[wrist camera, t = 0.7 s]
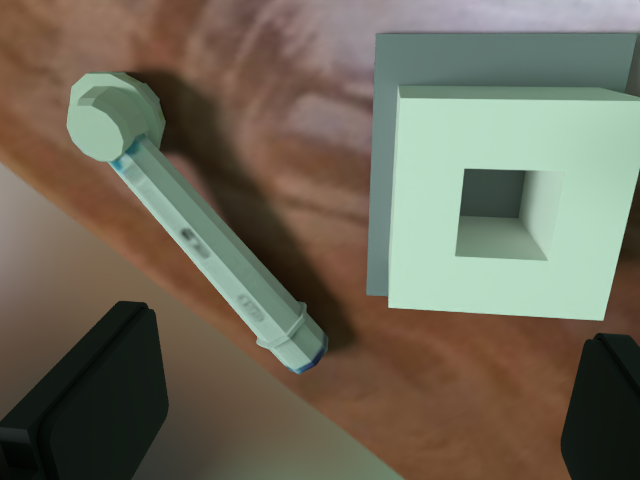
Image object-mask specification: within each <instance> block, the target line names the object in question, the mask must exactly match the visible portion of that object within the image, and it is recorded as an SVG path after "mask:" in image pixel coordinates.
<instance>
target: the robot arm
mask: <svg viewBox="0 0 640 480" xmlns="http://www.w3.org/2000/svg"><path fill="white" fill-rule="evenodd" d="M168 406H169V403H168V396H167V389H166V382H165V375H164V369H163V361H162V355H161V349H160V341H159V334H158V328H157V321H156V315H155V312H154V310H152V309H149V308H148V306H147V304H146V303H144V302H131V301H119V302H117V303H116V304H115V306H113V307H112V308H111V309H110V310H109V311H108V312H107V313H106V314H105V315H104V316H103V317H102V318H101V320H100V321H98V322H97V323H96V325H95V326H94V327H93V328H92V329H91V330H90V331H89V332H88V333H87V334H86V335H85V336H84V337H83V338H82V339H81V340H80V341H79V342H78V343H77V344H76V345H75V346H74V347H73V348H72V349H71V350H70V351H69V352H68V353H67V354H66V355H65V356H64V357H63V358H62V359H61V360H60V361H59V362H58V363H57V364H56V365H55V366H54V367H53V368H52V369H51V371H50V372H48V373H47V374H46V376H44V378H43V379H42V380H41V381H40V382H39V383H38V384H37V385H36V386H35V387H34V388H33V389H32V390H31V391H30V392H29V393H28V394H27V395H26V396H25V397H24V398H23V399H22V400H21V401H20V402H19V403H18V404H17V405H16V406H15V407H14V408H13V409H12V410H11V411H10V412H9V413H8V414H7V415H6V416H5V417H4V418H3V419H2V420H1V421H0V480H131V479H132V477H133V475H134V474H135V472H136V470H137V468H138V466H139V465H140V463H141V461H142V459H143V458H144V456H145V454H146V452H147V451H148V449H149V447H150V445H151V444H152V442H153V440H154V438H155V437H156V435H157V433H158V431H159V430H160V428H161V426H162V424H163V423H164V421H165V419H166V416H167V413H168ZM561 452H562V456H563V459H564V462H565V464H566V467H567V469H568V472H569V474H570V477H571V479H572V480H640V347H639V346H638V345H637V344H636V342H635V341H634V340H633V338H632V337H630V336H629V335H622V334H607V333H598V334H596V335H595V337H594V339H593V340H592V339H588V340H586V342H585V344H584V347H583V351H582V355H581V359H580V363H579V367H578V371H577V375H576V379H575V383H574V387H573V391H572V396H571V400H570V404H569V408H568V412H567V416H566V420H565V424H564V428H563V432H562V436H561Z"/></svg>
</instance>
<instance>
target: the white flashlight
mask: <svg viewBox="0 0 640 480" xmlns="http://www.w3.org/2000/svg"><path fill="white" fill-rule="evenodd" d="M159 101H160V99H159V98H158V97H157V96H156V94H155V93H154V92H153V91H152V90H151V89H150V87H149V86H148V85H147V84H146V83H144V84H143V83H142V82H140V81H138V80H136V79H134V78H132V77H130V76H128V75H127V74H126V72H90V73H87V74H86V75H85V76H83V77H82V78H81V79H80V80H79V81H78V82H77V83H76V84H74V85H73V86H72V89H71V98H70V106H69V109H68V118H67V129H68V131H69V133H70V136H71V138H72V141H73V142H74V143H75V144H76V145H77V146H78V147H79V148H80V149H81V151H82V152H83V153H84V154H86V155H88V156H90V157H92V158H94V159H96V160H98V161H102V162H108V163H109V164H110V165H111V167H112V168H113V169H114V170H115V171H116V172H117V174H118V175H119V176H120V177H121V178H122V179H123V181H124V182H125V183H126V184H127V185H128V186H129V187H130V189H131V190H132V191H133V192H134V193H135V194H136V196H137V197H138V198H139V199H140V200H141V201H142V203H143V204H144V205H145V206H146V207H147V208H148V210H149V211H150V212H151V213H152V214H153V215H154V217H155V218H156V219H157V220H158V221H159V222H160V224H161V225H162V226H163V227H164V228H165V229H166V231H167V232H168V233H169V234H170V235H171V236H172V238H173V239H174V240H175V241H176V242H177V243H178V245H179V246H180V247H181V248H182V249H183V250H184V252H185V253H186V254H187V255H188V256H189V257H190V259H191V260H192V261H193V262H194V263H195V264H196V266H197V267H198V268H199V269H200V270H201V271H202V273H203V274H204V275H205V276H206V277H207V278H208V280H209V281H210V282H211V283H212V284H213V285H214V287H215V288H216V289H217V290H218V291H219V292H220V293H221V295H222V296H223V297H224V298H225V299H226V300H227V302H228V303H229V304H230V305H231V306H232V307H233V309H234V310H235V311H236V312H237V313H238V314H239V316H240V317H241V318H242V319H243V320H244V321H245V323H246V324H247V325H248V326H249V327H250V328H251V330H252V331H253V332H254V333H255V334H256V335H257V337H258V338H257V342H256V343H257V344H258V345H259V346H262V347H264V348H267V349H270V351H271V352H272V353H273V354H274V355H275V356H276V357H277V358H278V359H279V360H280V361H281V362H282V363H283V364H284V365H285V366H286V367H287V368H288V369H289V370H290V371H292V372H295V373H297V374H301V373H303V372H305V371H306V370H308V369H310V368H312V367H314V366H316V364H317V363H318V362H319V361H320V359H321V358H322V357H323V355H324V354H325V353H326V352H327V350H328V336H327V335H326V334H325V333H324V332H323V331H322V329H321V328H320V327H319V326H318V325H317V324H316V323H315V321H314V320H313V319H312V318H311V317H310V316H309V315H308V313H307V312H306V309H307V305H306V304H305V303H304V302H299V301H296V300H295V299H294V298H293V297H292V296H291V294H290V293H289V292H288V291H287V290H286V289H285V288H284V287H283V286H282V285H281V283H280V282H279V281H278V280H277V279H276V278H275V277H274V276H273V275H272V274H271V273H270V271H269V270H268V269H267V268H266V267H265V266H264V265H263V264H262V263H261V262H260V260H259V259H258V258H257V257H256V256H255V255H254V254H253V253H252V252H251V251H250V249H249V248H248V247H247V246H246V245H245V244H244V243H243V242H242V241H241V240H240V239H239V237H238V236H237V235H236V234H235V233H234V232H233V231H232V230H231V229H230V228H229V226H228V225H227V224H226V223H225V222H224V221H223V220H222V219H221V218H220V217H219V215H218V214H217V213H216V212H215V211H214V210H213V209H212V208H211V207H210V206H209V205H208V203H207V202H206V201H205V200H204V199H203V198H202V197H201V196H200V195H199V194H198V192H197V191H196V190H195V189H194V188H193V187H192V186H191V185H190V184H189V183H188V181H187V180H186V179H185V178H184V177H183V176H182V175H181V174H180V173H179V172H178V171H177V169H176V168H175V167H174V166H173V165H172V164H171V163H170V162H169V161H168V160H167V158H166V157H165V156H164V155H163V154H162V153H161V152H160V151H159V148H160V144H161V139H162V136H163V132H164V127H165V123H166V121H165V119H164V116H163V113H162V110H161V106H160V103H159Z"/></svg>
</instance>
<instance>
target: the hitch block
mask: <svg viewBox="0 0 640 480" xmlns="http://www.w3.org/2000/svg"><path fill="white" fill-rule="evenodd" d="M637 34H638V33H631V34H376V47H375V74H374V101H373V128H372V155H371V182H370V209H369V236H368V264H367V291H366V295H375V296H389V308H404V309H421V310H437V311H454V312H470V313H486V314H503V315H519V316H536V317H552V318H569V319H585V320H602V321H603V319H604V315H605V310H606V306H607V302H608V298H609V294H610V290H611V286H612V281H613V277H614V273H615V269H616V265H617V261H618V257H619V252H620V248H621V244H622V240H623V236H624V232H625V228H626V223H627V219H628V215H629V211H630V207H631V203H632V198H633V194H634V190H635V186H636V182H637V178H638V174H639V169H640V97H636V96H632V95H628V94H625V89H626V85H627V80H628V75H629V71H630V66H631V62H632V57H633V52H634V48H635V43H636V39H637Z"/></svg>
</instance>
